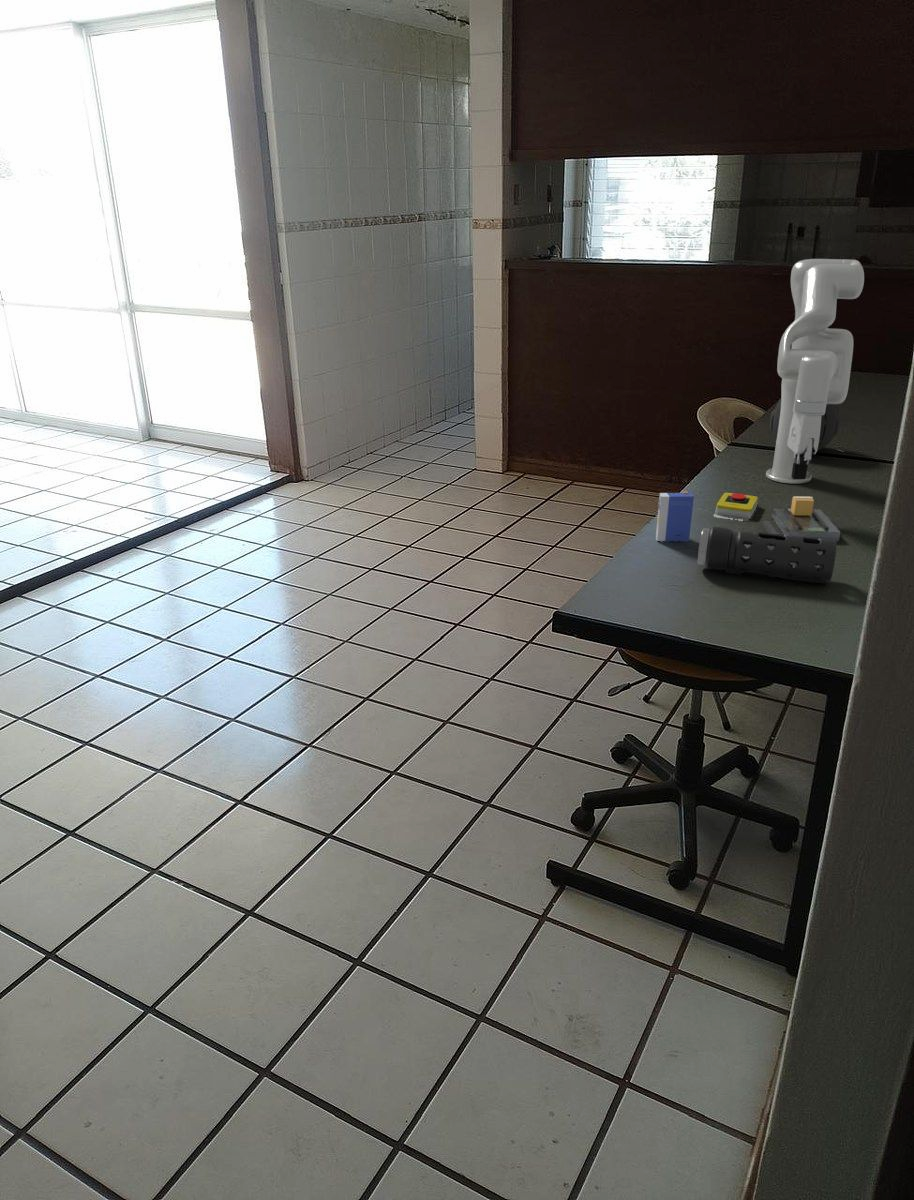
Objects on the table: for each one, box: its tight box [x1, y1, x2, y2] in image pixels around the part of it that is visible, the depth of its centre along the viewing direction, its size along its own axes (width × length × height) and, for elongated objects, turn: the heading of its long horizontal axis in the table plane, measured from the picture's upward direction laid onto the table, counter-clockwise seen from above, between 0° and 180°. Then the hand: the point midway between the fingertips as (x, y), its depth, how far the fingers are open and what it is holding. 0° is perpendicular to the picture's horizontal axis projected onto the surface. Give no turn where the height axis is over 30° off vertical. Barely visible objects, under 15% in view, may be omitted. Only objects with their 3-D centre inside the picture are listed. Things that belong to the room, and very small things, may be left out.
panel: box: [771, 508, 841, 543], centre depth 225 cm, size 16×12×3 cm
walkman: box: [655, 491, 694, 543], centre depth 218 cm, size 8×3×12 cm, turn 89°
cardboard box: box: [790, 495, 815, 516], centre depth 228 cm, size 3×4×4 cm
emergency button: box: [713, 492, 759, 522], centre depth 238 cm, size 9×4×15 cm
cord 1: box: [762, 520, 779, 534], centre depth 222 cm, size 14×1×1 cm, turn 177°
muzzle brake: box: [697, 525, 837, 585], centre depth 199 cm, size 10×28×10 cm, turn 71°
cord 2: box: [826, 515, 840, 530], centre depth 227 cm, size 8×1×1 cm, turn 177°
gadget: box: [769, 398, 842, 452], centre depth 283 cm, size 21×20×20 cm
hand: (798, 478), depth 231 cm, fingers closed
